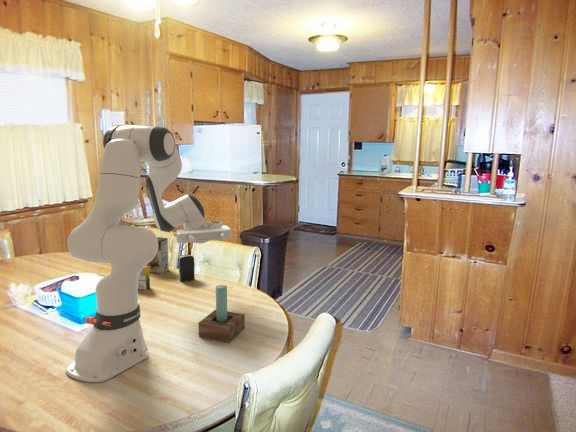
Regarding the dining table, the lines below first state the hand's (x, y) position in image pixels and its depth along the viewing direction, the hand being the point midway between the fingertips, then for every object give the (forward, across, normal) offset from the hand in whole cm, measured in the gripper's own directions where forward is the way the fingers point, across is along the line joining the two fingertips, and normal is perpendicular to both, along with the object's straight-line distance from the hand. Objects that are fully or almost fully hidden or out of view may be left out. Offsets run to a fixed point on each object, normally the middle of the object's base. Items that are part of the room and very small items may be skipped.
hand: (208, 239), depth 141 cm
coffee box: (-57, -12, +28) cm, 65 cm away
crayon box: (-37, -21, +28) cm, 51 cm away
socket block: (+15, 0, +28) cm, 32 cm away
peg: (+15, 0, +28) cm, 32 cm away
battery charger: (-40, -1, +28) cm, 49 cm away
